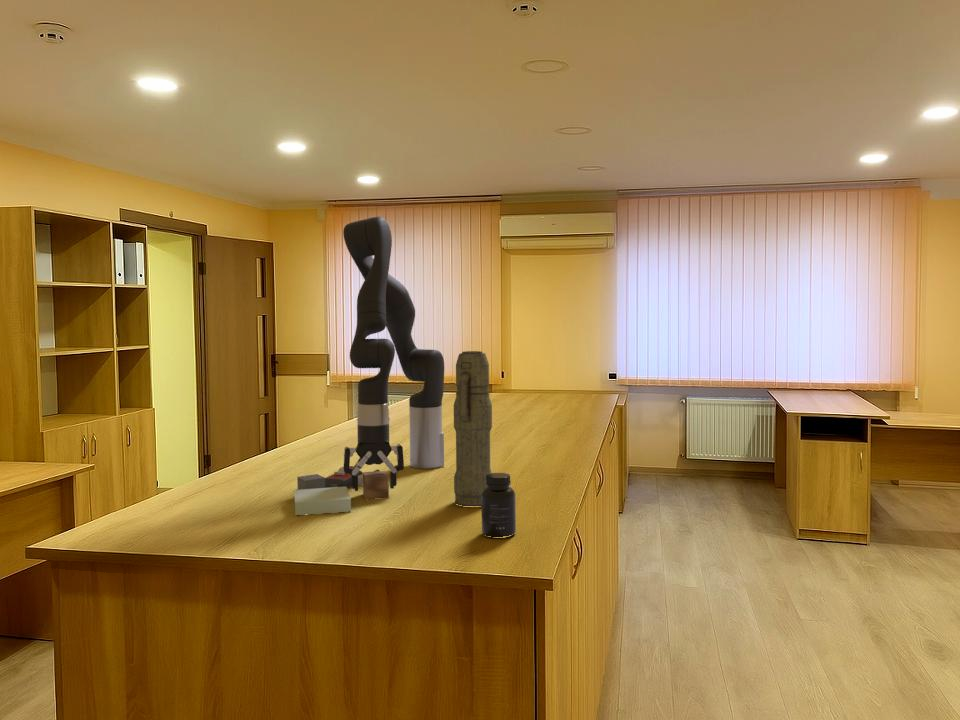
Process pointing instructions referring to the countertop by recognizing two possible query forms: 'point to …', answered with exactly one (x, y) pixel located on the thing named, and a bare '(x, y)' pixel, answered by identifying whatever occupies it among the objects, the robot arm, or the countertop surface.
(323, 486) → the charcoal block
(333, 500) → the pedestal
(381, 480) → the walnut cube
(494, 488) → the supplement bottle
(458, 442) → the thermos
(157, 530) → the countertop surface
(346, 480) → the walkie-talkie
